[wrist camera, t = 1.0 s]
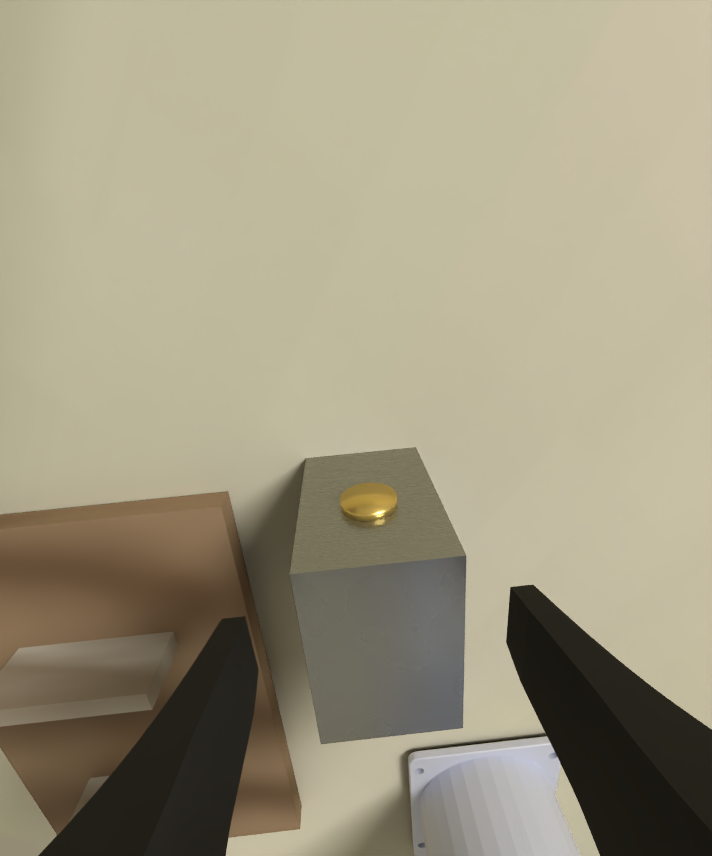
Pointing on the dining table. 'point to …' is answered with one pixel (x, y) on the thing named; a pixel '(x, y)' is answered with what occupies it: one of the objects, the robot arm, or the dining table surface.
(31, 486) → the dining table surface
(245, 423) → the dining table surface
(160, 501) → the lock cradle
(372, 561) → the block
